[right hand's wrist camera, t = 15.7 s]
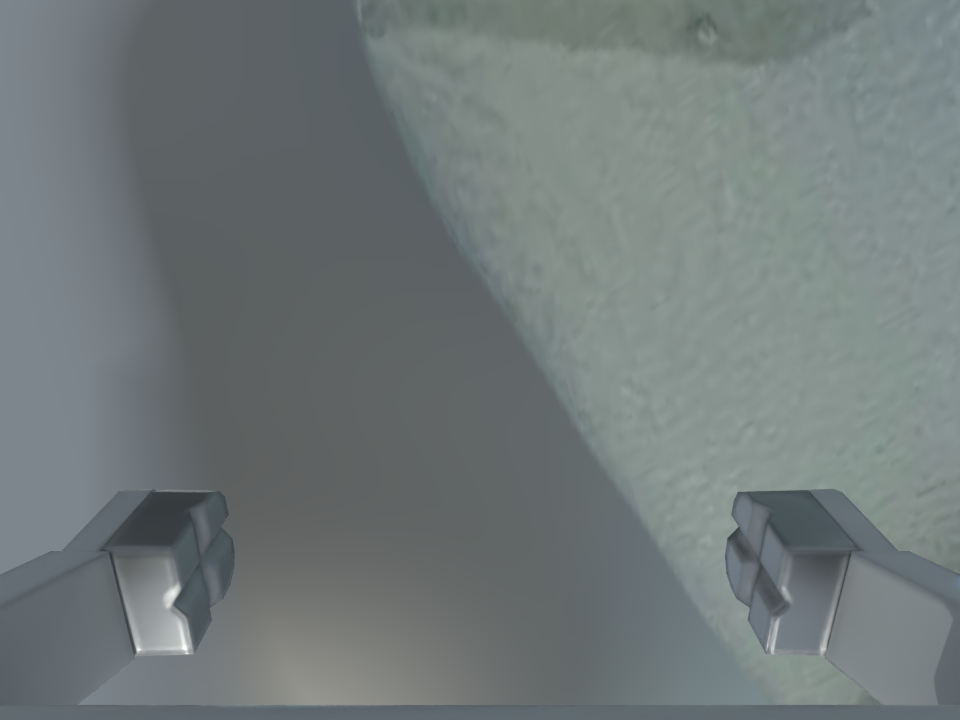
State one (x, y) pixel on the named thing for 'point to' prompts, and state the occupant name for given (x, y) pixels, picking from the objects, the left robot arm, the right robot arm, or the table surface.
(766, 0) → the table surface
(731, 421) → the table surface
